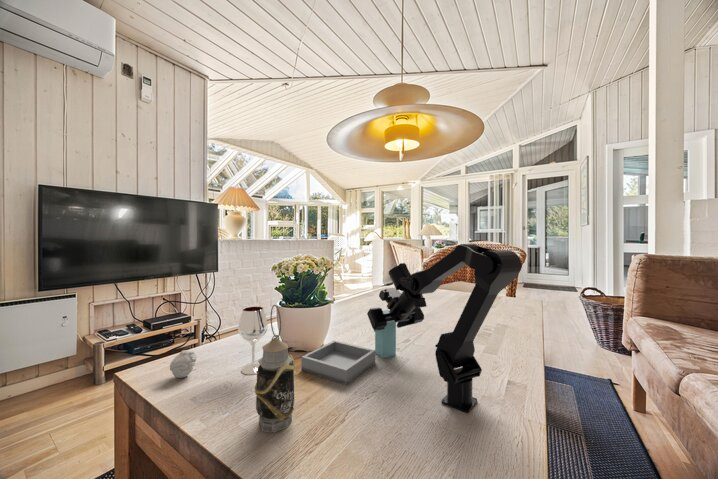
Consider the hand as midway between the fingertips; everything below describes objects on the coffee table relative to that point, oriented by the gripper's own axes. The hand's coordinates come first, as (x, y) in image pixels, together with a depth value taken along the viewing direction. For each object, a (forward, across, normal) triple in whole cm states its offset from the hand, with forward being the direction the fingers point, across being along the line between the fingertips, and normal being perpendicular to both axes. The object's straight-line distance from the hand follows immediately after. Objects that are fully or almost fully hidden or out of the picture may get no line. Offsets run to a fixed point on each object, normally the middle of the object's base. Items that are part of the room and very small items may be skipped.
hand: (386, 328), depth 98 cm
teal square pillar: (+6, 0, +6) cm, 9 cm away
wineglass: (+12, +41, 0) cm, 43 cm away
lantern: (-8, +41, +20) cm, 46 cm away
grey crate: (+5, +18, +7) cm, 20 cm away
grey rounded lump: (+16, +59, -3) cm, 61 cm away
